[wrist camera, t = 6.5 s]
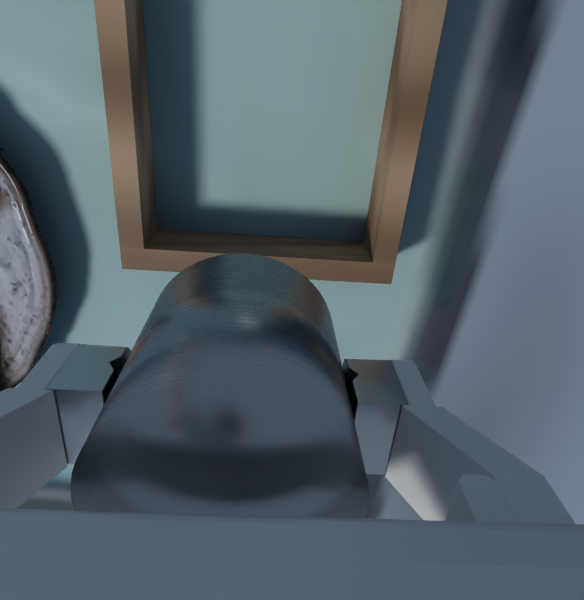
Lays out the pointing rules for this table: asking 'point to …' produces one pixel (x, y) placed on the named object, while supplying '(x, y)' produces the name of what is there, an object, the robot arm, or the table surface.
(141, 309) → the table surface
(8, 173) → the food plate
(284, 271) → the grey rounded piece
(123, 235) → the wooden u-shaped frame
